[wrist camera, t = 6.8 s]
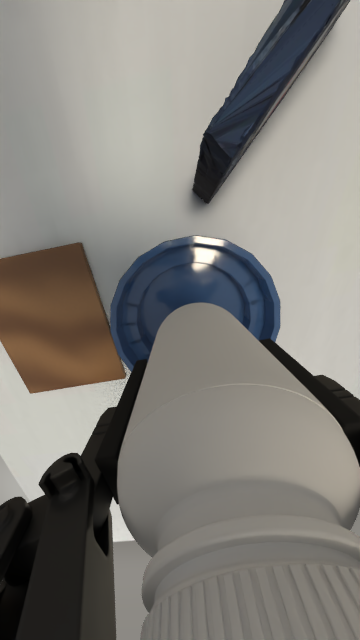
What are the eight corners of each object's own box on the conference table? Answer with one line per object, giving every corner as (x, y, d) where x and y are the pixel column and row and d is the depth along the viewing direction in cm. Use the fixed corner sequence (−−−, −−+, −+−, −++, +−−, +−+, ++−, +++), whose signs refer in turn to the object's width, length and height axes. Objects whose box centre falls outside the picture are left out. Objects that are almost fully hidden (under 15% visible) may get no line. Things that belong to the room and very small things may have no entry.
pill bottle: (254, 312, 16) (1041, 865, 1) (223, 383, 18) (384, 837, 4) (168, 288, 15) (-89, 941, 1) (148, 366, 17) (9, 845, 3)
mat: (-36, 267, 23) (-42, 267, 22) (81, 242, 22) (79, 242, 21) (33, 391, 29) (30, 393, 28) (126, 376, 28) (125, 378, 27)
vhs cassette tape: (207, 207, 21) (231, 160, 11) (187, 188, 20) (195, 122, 10) (340, 27, 16) (571, -310, 7) (320, -4, 15) (542, -424, 6)
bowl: (105, 258, 22) (85, 257, 18) (257, 227, 21) (280, 217, 17) (143, 382, 28) (135, 406, 24) (263, 363, 27) (280, 384, 23)
